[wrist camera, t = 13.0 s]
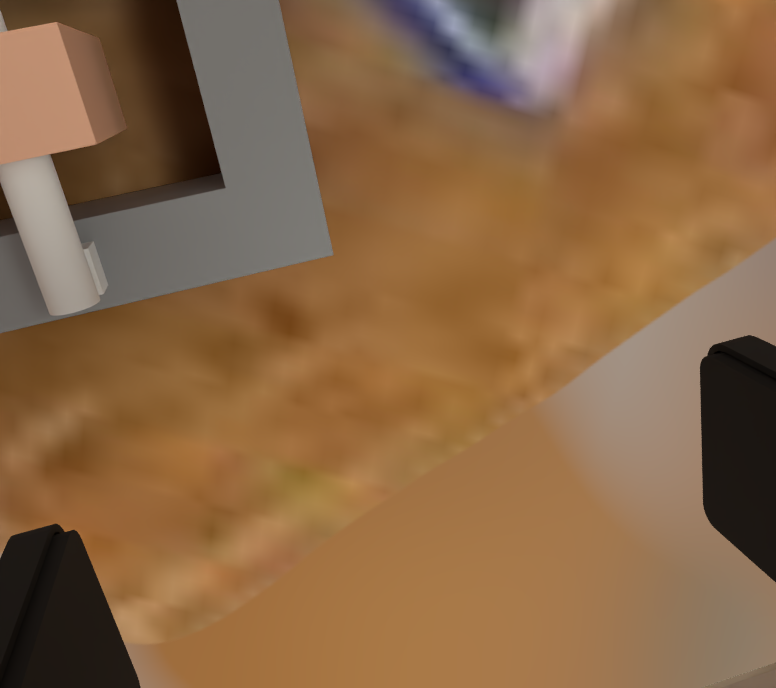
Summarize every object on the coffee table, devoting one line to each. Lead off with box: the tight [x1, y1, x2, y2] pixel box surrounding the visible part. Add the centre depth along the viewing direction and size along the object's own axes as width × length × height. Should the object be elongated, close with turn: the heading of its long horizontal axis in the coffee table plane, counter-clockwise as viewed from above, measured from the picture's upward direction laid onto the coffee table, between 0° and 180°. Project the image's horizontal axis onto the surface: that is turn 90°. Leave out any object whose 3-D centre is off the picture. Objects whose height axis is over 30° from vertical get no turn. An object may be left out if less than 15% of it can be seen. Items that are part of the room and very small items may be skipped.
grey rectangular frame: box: [0, 0, 333, 333], centre depth 30 cm, size 22×18×10 cm
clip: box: [0, 22, 127, 165], centre depth 29 cm, size 6×4×10 cm, turn 101°
